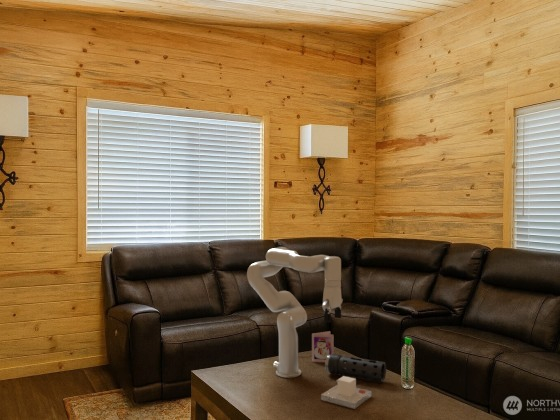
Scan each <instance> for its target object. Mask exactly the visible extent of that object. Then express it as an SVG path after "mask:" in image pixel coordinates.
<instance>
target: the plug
mask: <svg viewBox="0 0 560 420" xmlns="http://www.w3.org/2000/svg"><path fill="white" fill-rule="evenodd" d="M335 384H338V394H342V395H345V396H349V397H350V396H352V395H353V394H354V393H356V388H357V379H356V378H355V377H350V376H347V377H346V376H343V377H341V376H340V378H338V379H335Z"/></svg>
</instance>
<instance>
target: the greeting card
mask: <svg viewBox="0 0 560 420" xmlns="http://www.w3.org/2000/svg"><path fill="white" fill-rule="evenodd" d="M334 340H335V339H334V334H331V331H330V330H329V331H323V332H322V331H321V332H316V333H315V332H314V333H311V362H312V363H325V361H326V358H327V356H328V355H329V354H335V351H334V348H335V347H334V346H335V345H334V344H335V343H334V342H335V341H334Z"/></svg>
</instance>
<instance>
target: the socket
mask: <svg viewBox="0 0 560 420" xmlns="http://www.w3.org/2000/svg"><path fill="white" fill-rule="evenodd" d="M370 398H372V390H368V389H364V388H360V387H356V393H354V394H353V395H352V396H350V397H349V396H345V395H342V394H338V383H336V385H334V386H333V387H331V388H329V389H328V390H326V391H325V392H323V393H321V394H320V400H321V401H322V402H326V403H330V404H333V405H337V406H341V407H344V408H347V409H351V410H356V409H357V408H359V407H360V406H361V405H363V404H364V403H365V402H366V401H368V400H369V399H370Z"/></svg>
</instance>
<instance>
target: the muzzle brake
mask: <svg viewBox="0 0 560 420" xmlns="http://www.w3.org/2000/svg"><path fill="white" fill-rule="evenodd" d="M324 368H325V371H326V372H329V373H330V374H333V375H339V377H340V378H341V377H343V376H346V377H350V378H354V379H356V378H357V379H358V380H363V381H367V382H372V383H379V384H383V383H384V381H385V379H386V374H387V364H386V362H385V361H381V360H380V361H378V360H374V359H367V358H360V357H354V356H353V357H352V356H348V355H344V356H343V355H341V354H340V353H339V354H338V353H334V354H329V355H328V356H327V358H326V361H325V362H324Z"/></svg>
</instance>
